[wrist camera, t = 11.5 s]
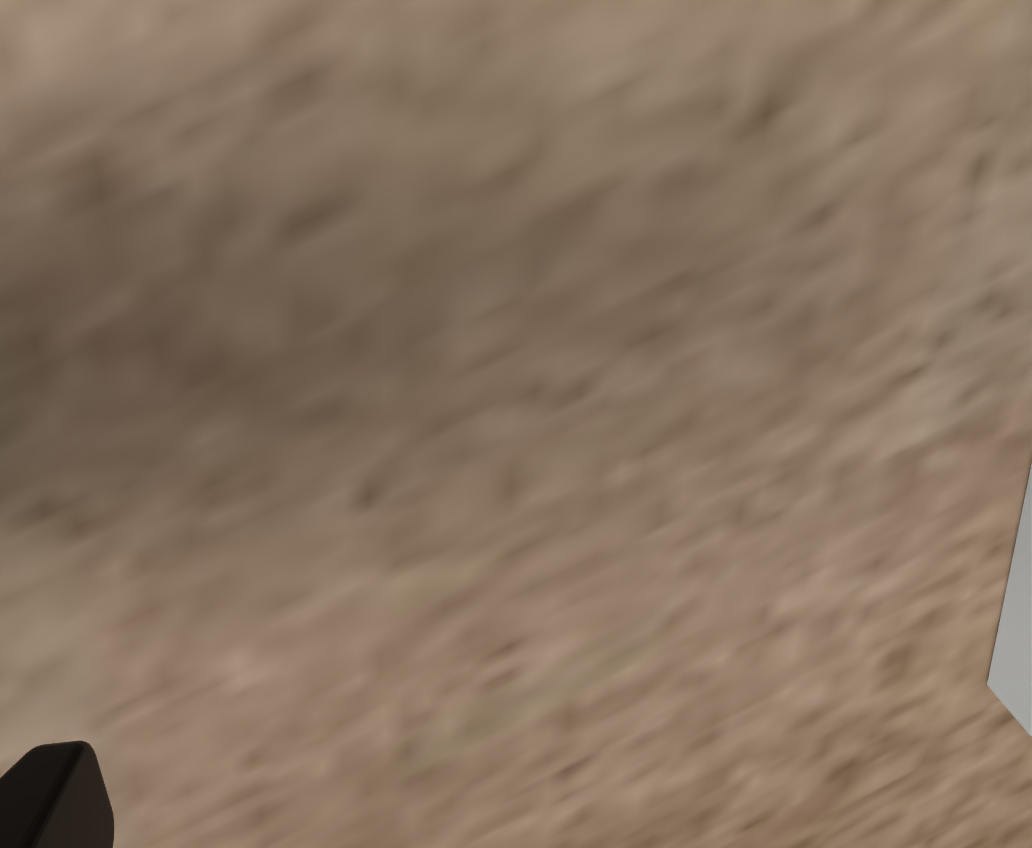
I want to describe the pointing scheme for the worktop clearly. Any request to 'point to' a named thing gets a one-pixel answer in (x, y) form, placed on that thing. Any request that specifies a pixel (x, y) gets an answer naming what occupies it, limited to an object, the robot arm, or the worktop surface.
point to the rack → (1016, 628)
